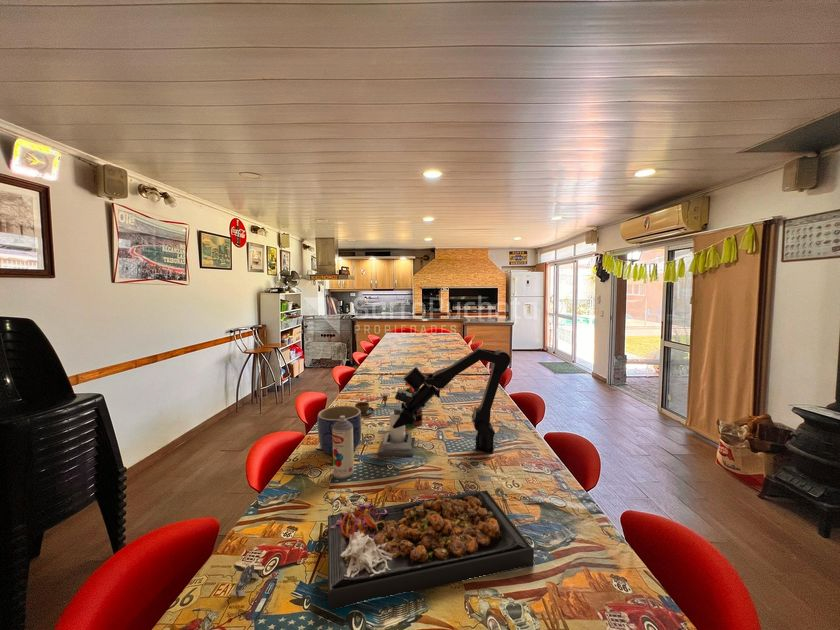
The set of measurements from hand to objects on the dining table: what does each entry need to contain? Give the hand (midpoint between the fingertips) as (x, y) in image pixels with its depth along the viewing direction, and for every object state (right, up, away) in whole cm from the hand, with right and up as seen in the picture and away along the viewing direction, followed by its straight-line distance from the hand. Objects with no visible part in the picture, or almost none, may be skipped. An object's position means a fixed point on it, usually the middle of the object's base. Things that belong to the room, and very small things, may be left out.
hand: (394, 424), depth 140 cm
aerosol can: (-16, -11, -19) cm, 27 cm away
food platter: (+11, -14, -53) cm, 56 cm away
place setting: (-15, -7, +43) cm, 46 cm away
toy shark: (-26, -15, -61) cm, 68 cm away
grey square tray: (+1, -9, +1) cm, 10 cm away
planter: (-21, -10, 0) cm, 23 cm away
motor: (+7, -8, +26) cm, 28 cm away
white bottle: (+1, -7, 0) cm, 7 cm away
